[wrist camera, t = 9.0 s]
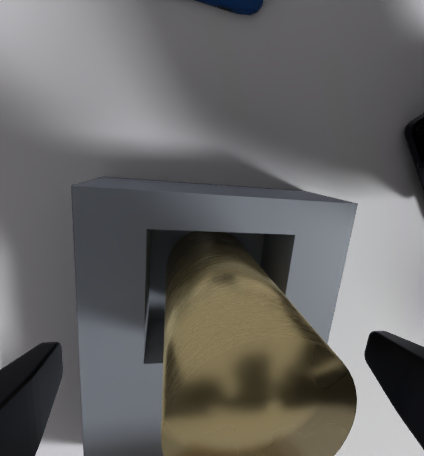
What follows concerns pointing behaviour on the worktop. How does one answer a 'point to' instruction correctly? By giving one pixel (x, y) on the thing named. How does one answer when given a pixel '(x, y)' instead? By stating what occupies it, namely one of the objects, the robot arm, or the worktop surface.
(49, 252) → the worktop surface
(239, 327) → the peg
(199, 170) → the worktop surface
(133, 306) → the socket block
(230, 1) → the cell phone
